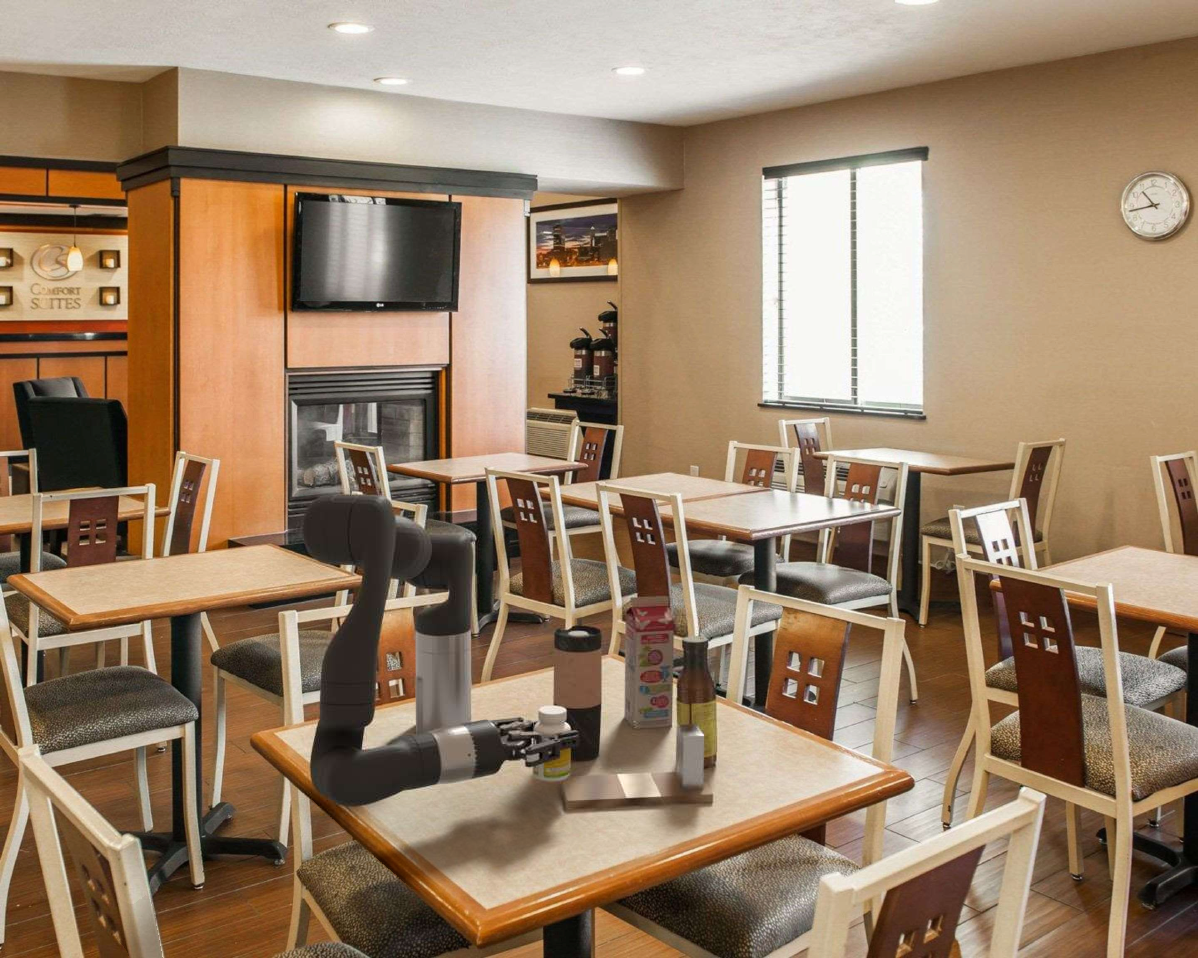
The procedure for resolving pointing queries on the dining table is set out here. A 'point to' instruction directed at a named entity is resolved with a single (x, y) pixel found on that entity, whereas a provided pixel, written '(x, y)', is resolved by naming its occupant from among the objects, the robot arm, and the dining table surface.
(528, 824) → the dining table surface
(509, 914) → the dining table surface
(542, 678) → the dining table surface
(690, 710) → the sauce bottle
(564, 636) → the travel mug
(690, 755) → the silver rectangular block
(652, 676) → the juice carton
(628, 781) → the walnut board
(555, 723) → the supplement bottle
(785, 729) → the dining table surface
